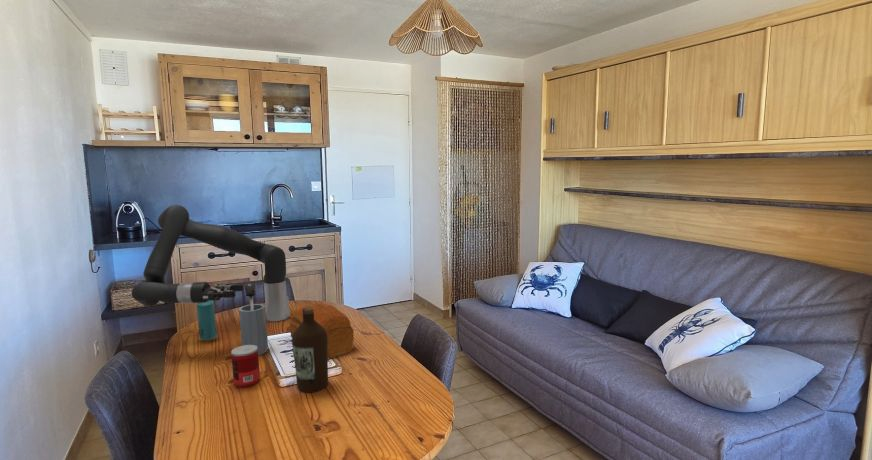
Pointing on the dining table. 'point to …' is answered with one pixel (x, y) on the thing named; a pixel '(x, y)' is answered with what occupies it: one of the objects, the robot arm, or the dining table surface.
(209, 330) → the beverage bottle
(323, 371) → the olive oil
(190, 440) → the dining table surface
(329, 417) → the dining table surface
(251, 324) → the grey utensil holder
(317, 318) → the bread
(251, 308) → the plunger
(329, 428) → the dining table surface
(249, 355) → the canned food
